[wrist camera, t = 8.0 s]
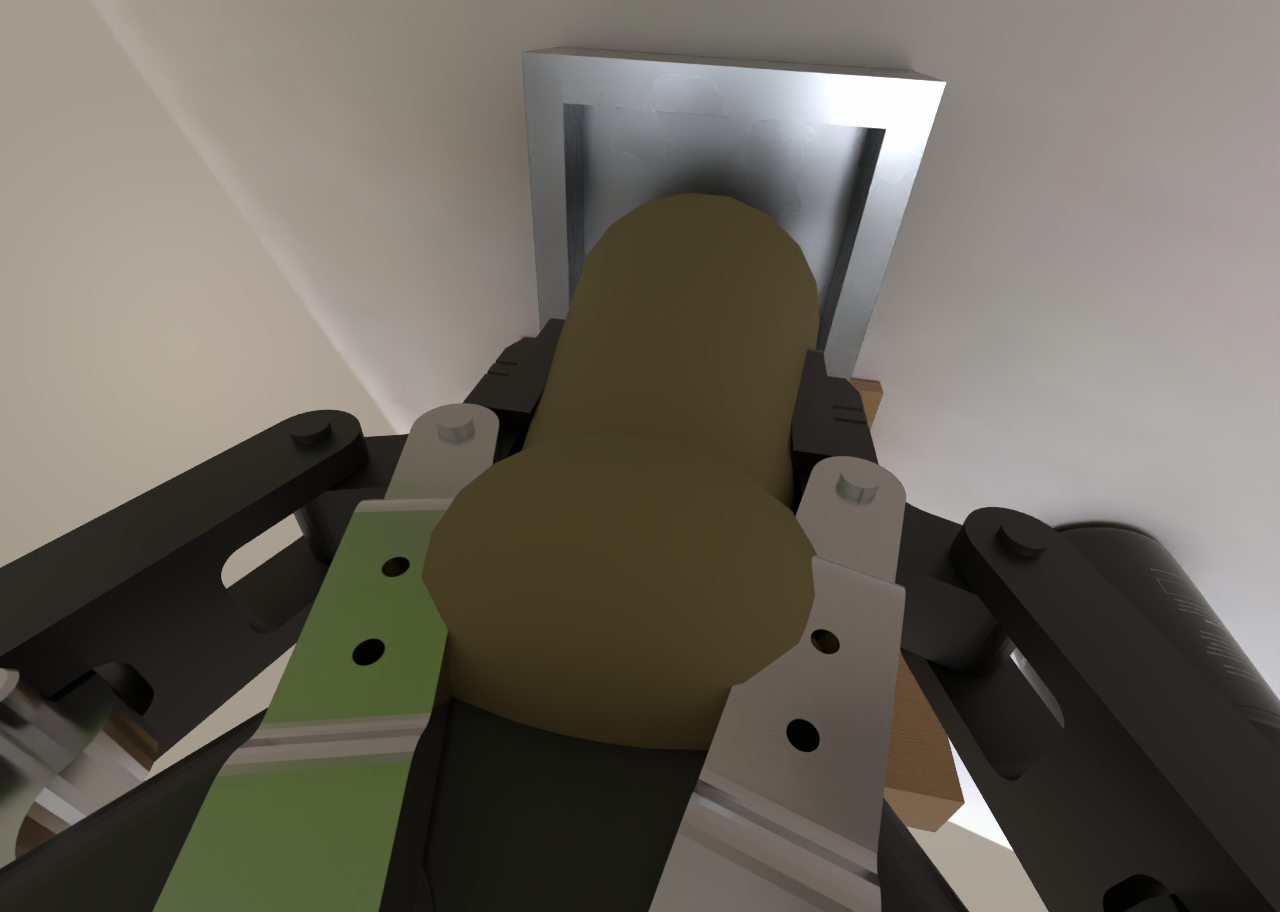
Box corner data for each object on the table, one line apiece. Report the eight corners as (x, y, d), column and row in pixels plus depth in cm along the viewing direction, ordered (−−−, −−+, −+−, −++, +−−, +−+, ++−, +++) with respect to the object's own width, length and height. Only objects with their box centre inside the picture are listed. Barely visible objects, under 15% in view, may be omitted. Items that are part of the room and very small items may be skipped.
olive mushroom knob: (560, 390, 16) (322, 825, 7) (594, 159, 12) (182, 492, 4) (767, 448, 16) (771, 952, 7) (865, 234, 12) (1119, 756, 3)
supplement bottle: (976, 538, 25) (1104, 849, 16) (1170, 504, 22) (1464, 854, 13) (997, 631, 28) (1112, 933, 19) (1167, 611, 26) (1399, 951, 16)
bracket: (496, 42, 17) (-2, 84, 6) (990, 76, 15) (1557, 216, 4) (531, 437, 26) (361, 742, 15) (843, 482, 24) (908, 858, 13)
